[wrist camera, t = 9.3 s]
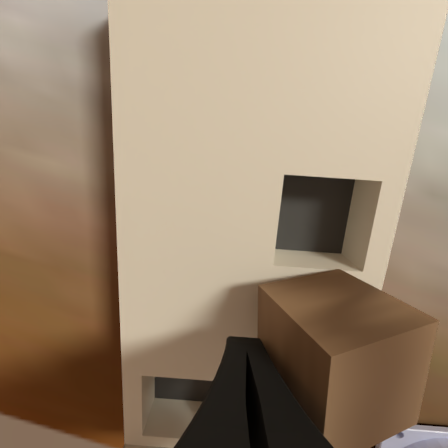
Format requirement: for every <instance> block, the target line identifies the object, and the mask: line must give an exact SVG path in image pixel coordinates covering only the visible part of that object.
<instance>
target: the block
mask: <svg viewBox="0 0 448 448" xmlns="http://www.w3.org/2000/svg"><path fill="white" fill-rule="evenodd" d="M438 325H439V320H437V319H435V318H433V317H431V316H429V315H427V314H425V313H424V312H422V311H420V310H418V309H416V308H414V307H412V306H410V305H408V304H406V303H404V302H402V301H400V300H399V299H397V298H395V297H393V296H391V295H389V294H387V293H385V292H383V291H381V290H379V289H377V288H375V287H374V286H372V285H370V284H368V283H366V282H364V281H362V280H360V279H358V278H356V277H354V276H352V275H350V274H349V273H347V272H345V271H343V270H341V269H335V270H330V271H326V272H321V273H316V274H311V275H306V276H301V277H296V278H291V279H286V280H281V281H276V282H271V283H266V284H261V285H258V334H257V338H260V339H261V341H262V342H263V345H264V347H265V349H266V351H267V353H268V355H269V356H270V358H271V360H272V362H273V364H274V365H275V367H276V369H277V371H278V372H279V374H280V376H281V377H282V379H283V380H284V382H285V384H286V385H287V387H288V388H289V390H290V391H291V393H292V394H293V396H294V397H295V399H296V400H297V401H298V403H299V404H300V406H301V407H302V409H303V410H304V411H305V413H306V414H307V415H308V417H309V418H310V419H311V421H312V422H313V423H314V424H315V426H316V427H317V428H318V429H319V431H320V432H321V433H322V434H323V435H324V437H325V438H326V439H327V440H328V441H329V443H330V444H331V445H332V446H333V447H334V448H371V447H373V446H375V445H377V444H379V443H381V442H383V441H384V440H386V439H388V438H390V437H392V436H394V435H396V434H398V433H400V432H402V431H404V430H406V429H408V428H410V427H412V426H414V425H416V424H417V422H418V418H419V413H420V408H421V404H422V399H423V395H424V390H425V385H426V381H427V376H428V372H429V367H430V362H431V358H432V353H433V348H434V344H435V339H436V335H437V330H438Z"/></svg>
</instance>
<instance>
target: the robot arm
mask: <svg viewBox="0 0 448 448" xmlns="http://www.w3.org/2000/svg"><path fill="white" fill-rule="evenodd" d="M174 448H334V447H333V446H332V445H331V444H330V443H329V441H328V440H327V439H326V438H325V437H324V435H323V434H322V433H321V432H320V431H319V429H318V428H317V427H316V426H315V424H314V423H313V422H312V421H311V419H310V418H309V417H308V415H307V414H306V413H305V411H304V410H303V409H302V407H301V406H300V404H299V403H298V401H297V400H296V399H295V397H294V396H293V394H292V393H291V391H290V390H289V388H288V387H287V385H286V384H285V382H284V380H283V379H282V377H281V376H280V374H279V372H278V371H277V369H276V367H275V365H274V364H273V362H272V360H271V358H270V356H269V355H268V353H267V351H266V349H265V347H264V345H263V342H262V341H261V339H260V338H249V337H236V336H229V337H228V338H227V339H226V346H225V350H224V354H223V357H222V360H221V363H220V365H219V368H218V370H217V373H216V375H215V377H214V380H213V382H212V384H211V386H210V388H209V390H208V392H207V394H206V396H205V398H204V400H203V401H202V403H201V405H200V407H199V409H198V410H197V412H196V414H195V415H194V417H193V419H192V420H191V422H190V424H189V425H188V427H187V428H186V430H185V431H184V433H183V434H182V436H181V437H180V439H179V440H178V442H177V443H176V445H175V446H174ZM375 448H448V427H439V426H425V425H414V426H412V427H410V428H408V429H406V430H404V431H402V432H400V433H398V434H396V435H394V436H392V437H390V438H388V439H386V440H384V441H383V442H381V443H379V444H377V445H376V447H375Z"/></svg>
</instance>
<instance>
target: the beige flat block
mask: <svg viewBox="0 0 448 448" xmlns="http://www.w3.org/2000/svg"><path fill="white" fill-rule="evenodd" d="M447 12H448V0H108V20H109V46H110V72H111V99H112V125H113V151H114V178H115V204H116V230H117V257H118V283H119V309H120V336H121V362H122V388H123V415H124V441H125V444H124V447H123V448H174V446H175V445H176V443H177V442H178V440H179V439H180V437H181V436H182V434H183V433H184V431H185V430H186V428H187V427H188V425H189V424H190V422H191V420H192V419H193V417H194V415H195V414H196V412H197V410H198V409H199V407H200V405H201V403H202V401H203V400H204V398H205V396H206V394H207V392H208V390H209V388H210V386H211V384H212V382H213V380H214V377H215V375H216V373H217V370H218V368H219V365H220V363H221V360H222V357H223V354H224V350H225V346H226V339H227V338H228V337H229V336H236V337H249V338H257V334H258V285H261V284H266V283H271V282H276V281H281V280H286V279H291V278H296V277H301V276H306V275H311V274H316V273H321V272H326V271H330V270H335V269H341V270H343V271H345V272H347V273H349V274H350V275H352V276H354V277H356V278H358V279H360V280H362V281H364V282H366V283H368V284H370V285H372V286H374V287H375V288H377V289H379V290H381V291H382V287H383V282H384V278H385V274H386V270H387V266H388V261H389V257H390V253H391V249H392V244H393V240H394V236H395V232H396V228H397V223H398V219H399V215H400V211H401V206H402V202H403V198H404V194H405V190H406V185H407V181H408V177H409V173H410V168H411V164H412V160H413V156H414V152H415V147H416V143H417V139H418V135H419V130H420V126H421V122H422V118H423V113H424V109H425V105H426V101H427V97H428V92H429V88H430V84H431V80H432V75H433V71H434V67H435V63H436V59H437V54H438V50H439V46H440V42H441V37H442V33H443V29H444V25H445V21H446V16H447Z"/></svg>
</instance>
